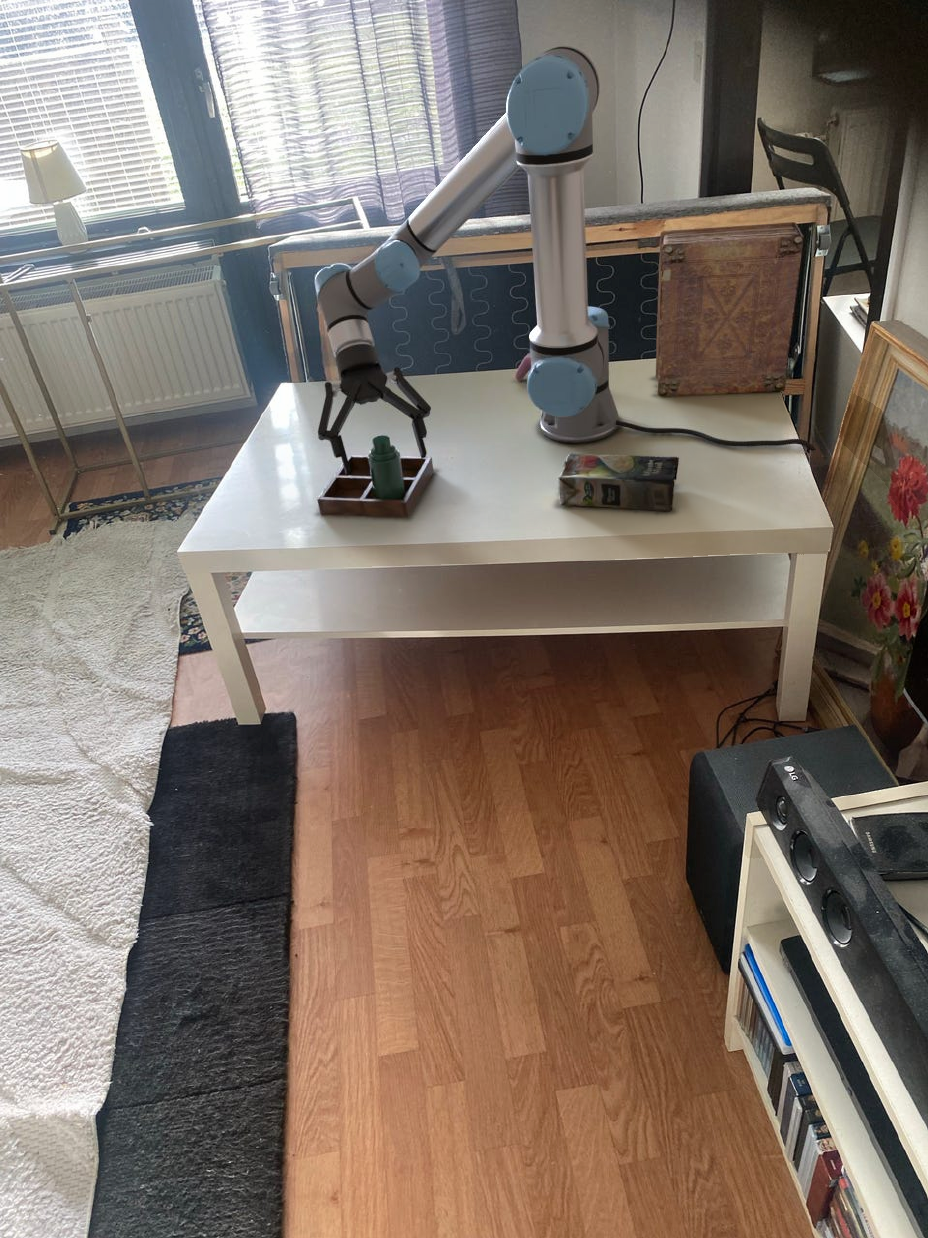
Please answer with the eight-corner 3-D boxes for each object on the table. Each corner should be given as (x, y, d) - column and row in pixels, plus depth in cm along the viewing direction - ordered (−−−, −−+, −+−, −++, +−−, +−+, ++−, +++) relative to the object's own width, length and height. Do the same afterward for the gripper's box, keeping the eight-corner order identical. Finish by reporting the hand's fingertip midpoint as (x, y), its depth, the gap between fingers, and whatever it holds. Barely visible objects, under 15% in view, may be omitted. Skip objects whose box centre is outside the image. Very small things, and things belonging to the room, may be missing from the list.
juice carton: (552, 506, 156) (551, 474, 152) (563, 479, 163) (563, 448, 159) (671, 514, 150) (673, 481, 146) (677, 485, 158) (679, 453, 154)
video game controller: (559, 390, 197) (567, 357, 195) (547, 388, 194) (555, 354, 192) (524, 381, 203) (532, 349, 201) (512, 379, 199) (519, 346, 197)
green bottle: (411, 492, 163) (401, 432, 156) (401, 509, 159) (391, 447, 152) (381, 491, 165) (370, 431, 157) (371, 507, 160) (360, 446, 153)
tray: (433, 471, 170) (431, 456, 169) (408, 517, 158) (405, 502, 156) (351, 469, 175) (348, 454, 173) (320, 514, 162) (317, 499, 160)
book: (656, 396, 186) (660, 244, 168) (655, 377, 193) (659, 230, 175) (785, 391, 182) (803, 235, 164) (779, 372, 189) (796, 221, 171)
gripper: (421, 347, 166) (452, 455, 163) (286, 376, 162) (317, 487, 159) (424, 328, 158) (457, 440, 156) (283, 357, 154) (315, 473, 152)
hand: (386, 464), depth 157 cm, fingers open, 13 cm apart
